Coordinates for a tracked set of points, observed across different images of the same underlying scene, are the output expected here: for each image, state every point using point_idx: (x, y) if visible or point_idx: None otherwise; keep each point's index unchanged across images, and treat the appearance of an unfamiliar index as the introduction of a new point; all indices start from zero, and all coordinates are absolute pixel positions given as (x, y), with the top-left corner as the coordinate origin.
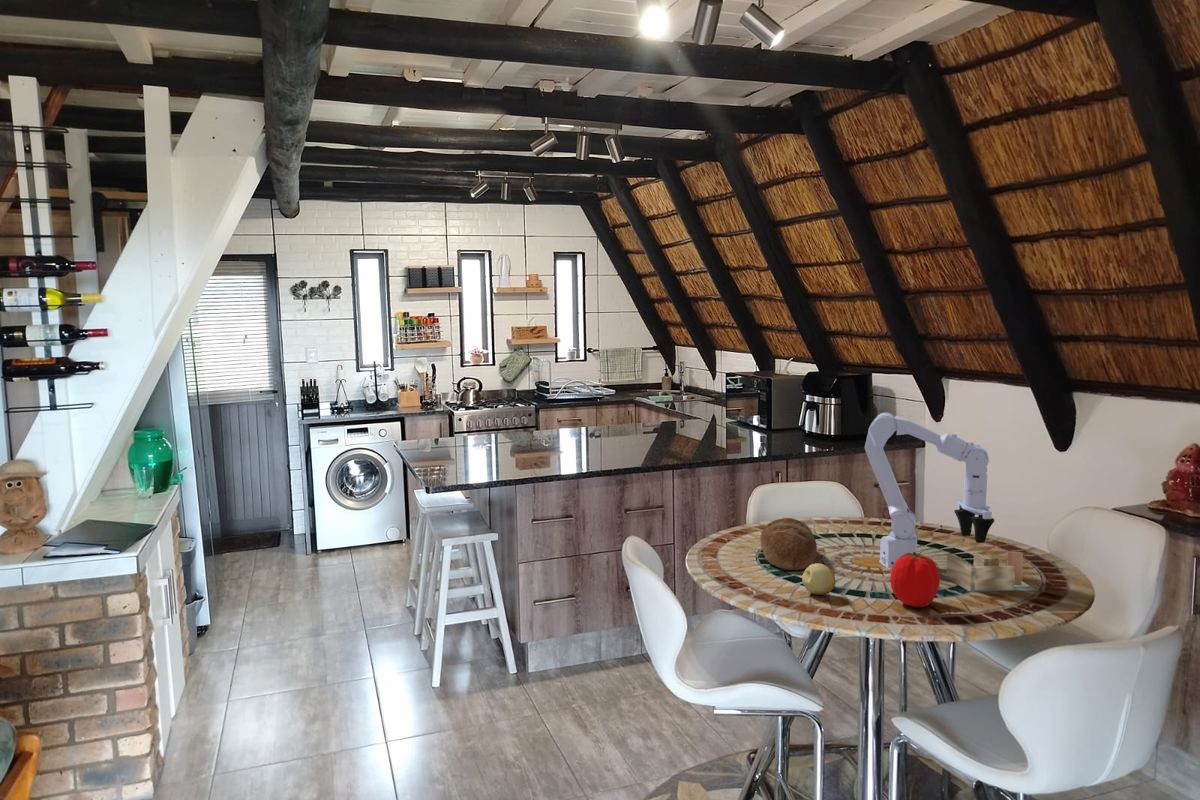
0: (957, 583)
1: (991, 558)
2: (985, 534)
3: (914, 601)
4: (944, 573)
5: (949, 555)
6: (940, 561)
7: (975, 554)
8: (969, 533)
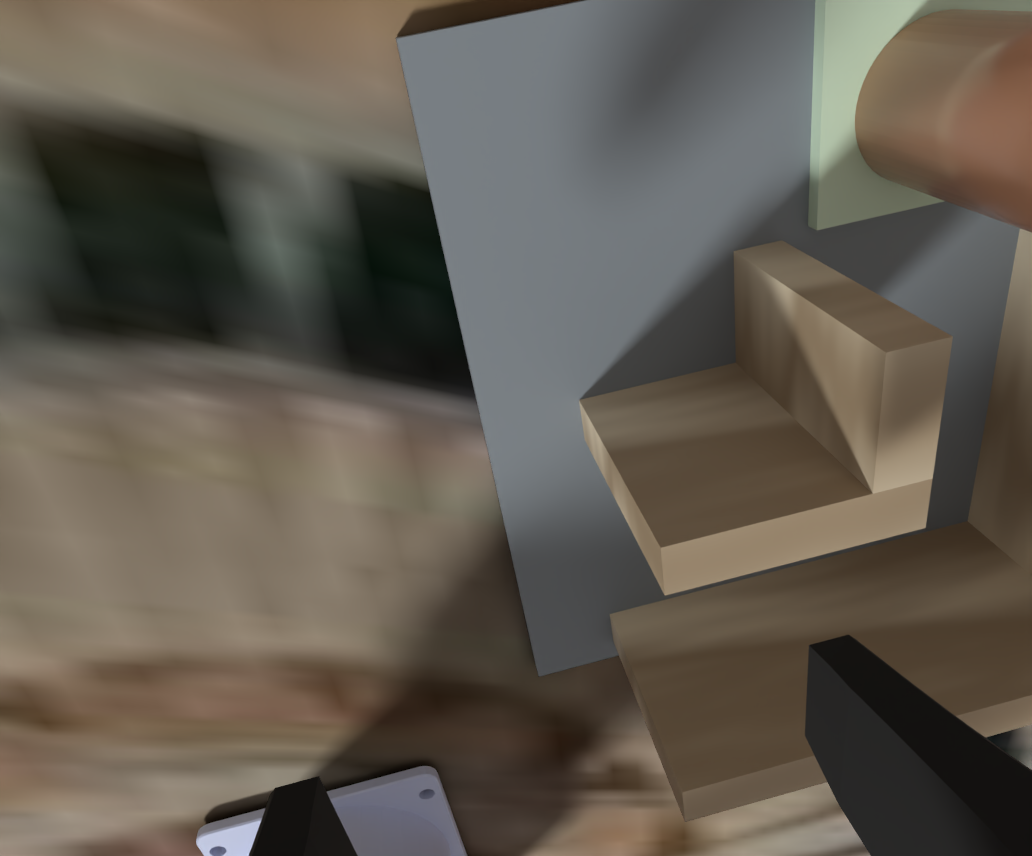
0: None
1: (913, 437)
2: (987, 770)
3: None
4: (555, 648)
5: (733, 805)
6: (34, 620)
7: (704, 584)
8: (319, 827)
